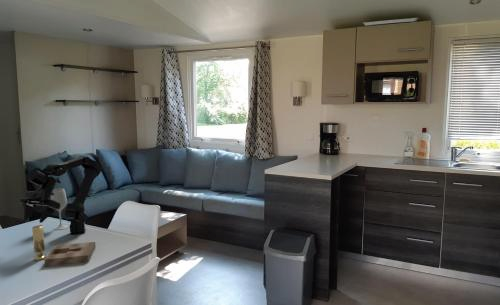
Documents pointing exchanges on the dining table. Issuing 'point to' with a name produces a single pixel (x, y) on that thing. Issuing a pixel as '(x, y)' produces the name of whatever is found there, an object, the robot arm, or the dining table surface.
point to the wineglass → (60, 198)
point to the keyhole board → (70, 254)
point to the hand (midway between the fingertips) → (32, 221)
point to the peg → (38, 242)
